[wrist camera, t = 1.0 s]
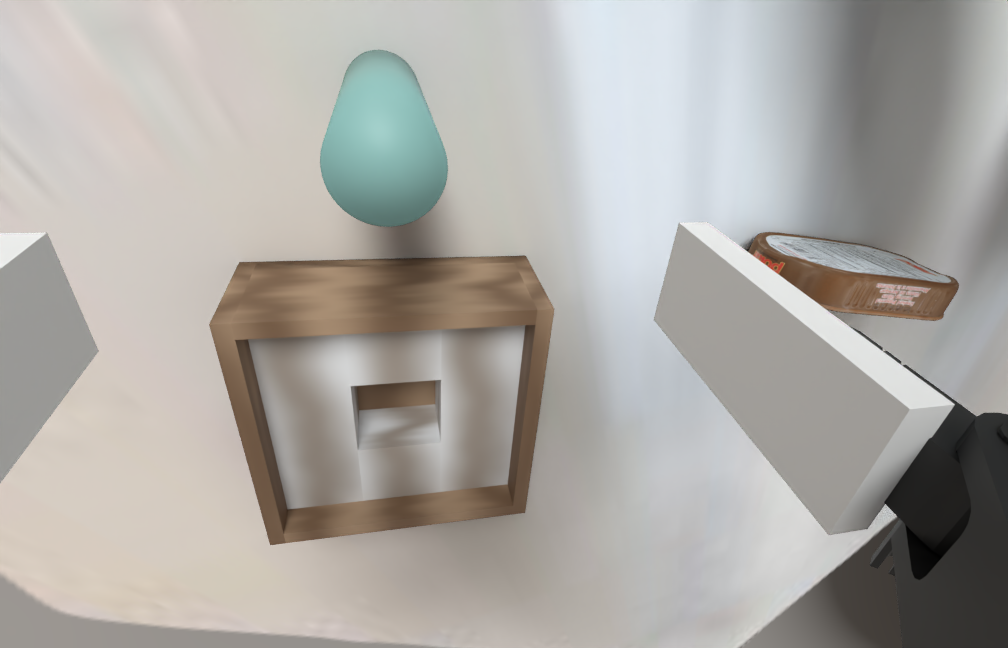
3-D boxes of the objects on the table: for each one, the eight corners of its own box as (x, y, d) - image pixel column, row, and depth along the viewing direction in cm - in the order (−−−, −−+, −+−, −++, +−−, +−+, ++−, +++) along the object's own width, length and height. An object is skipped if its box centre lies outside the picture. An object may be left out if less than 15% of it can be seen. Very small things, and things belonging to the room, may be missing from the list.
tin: (717, 257, 39) (790, 317, 32) (735, 217, 37) (816, 271, 30) (871, 275, 43) (965, 332, 36) (893, 240, 42) (996, 292, 35)
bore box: (525, 255, 35) (554, 309, 30) (506, 445, 45) (524, 512, 39) (239, 262, 32) (209, 324, 26) (284, 466, 41) (270, 545, 36)
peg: (418, 52, 28) (448, 104, 16) (419, 130, 30) (447, 225, 18) (340, 47, 27) (312, 99, 15) (346, 128, 29) (327, 227, 17)
